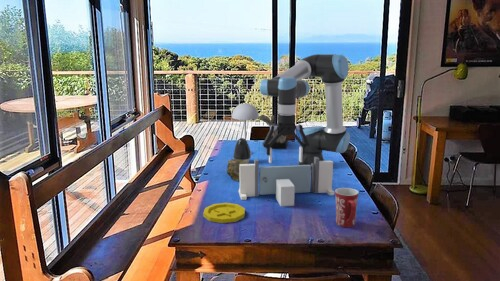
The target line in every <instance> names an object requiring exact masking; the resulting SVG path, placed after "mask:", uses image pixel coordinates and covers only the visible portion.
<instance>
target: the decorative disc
mask: <svg viewBox="0 0 500 281" xmlns="http://www.w3.org/2000/svg"><path fill="white" fill-rule="evenodd" d="M245 215H246V208H245V207H244V206H242V205H240V204H237V203H232V202H231V203H230V202H222V203H213V204H211V205H209V206H207V207H205V208H204V211H203V217H204V218H205V219H206V220H207V221H209V222H213V223H220V224H226V223H227V224H229V223H235V222H238V221H240V220H242V219H244V218H245Z"/></svg>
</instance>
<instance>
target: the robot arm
mask: <svg viewBox="0 0 500 281" xmlns="http://www.w3.org/2000/svg"><path fill="white" fill-rule="evenodd" d="M349 69H350V68H349V62H348V59H347V58H346V56H344V55H342V54H336V53H335V54H334V53H332V54H331V53H330V54H324V53H322V54H319V53H318V54H317V53H316V54H312V55H308V56H306V57H304V58H302V59H301V58H300V60H297V62H296V63H295V64H294V65H293V66H292V67H290V68H288V69H287V70H285V71H283V72H281V73H280V74H278V75H276V76H275V77H272V78H270V79H269V78H264V79H262V80H261V81H260V83H259V91H260V94H261V95H262V96H267V97H277V99H278V101H277V102H278V103H277V106H278V107H277V113H278V114H277V123H278V125H277V126H273V125H271V126H270V127H269V131H268V132H267V135H266V137H265V138H264V140H263V143H262V147H263V148H265V149H266V155H267V156H268V163H269V164H272V163H273V162H272V161H273V160H272V159H273V149H272V148H271V146H272V145H273V144H274V143H275V142H276V140H277V139H278V138H279V137H280V136H281V135H283V136H286V137H287V136H289V137H290V136H292V137H294V139H295V140H296V142H298V144H299V145H300V146H299V148H298V165H311V163H314V157H318V158H319V161H325V159H324V156H323V151H324V152H330V153H336V154H337V153H338V154H339V153H340V154H343V153H345V152H346V151H347V150H348V147H349V144H350V142H351V135H350V132H347V128H346V126H345V125H344V123H343V122H344V121H343V120H344V118H343V116H344V115H343V111H344V110H343V91H342V90H343V83H344V82H345V81H346V79H347V77H348V76H349V71H350V70H349ZM312 77H313V78H314V77H315V78H321V83H322V84H323V85H324V89H325V90H324V92H325V114H326V127H324V126H321V125H315V126H314V125H313V126H307V127H304V126H303V125H302V124H301V123H300V124H296V110H297V99H300V98H301V99H302V98H305V97H306V96H308V95H309V92H310V90H311V89H310V84H309V83H308V82H307V81H306V80H302V79H307V78H312ZM303 127H304V128H303ZM275 129H277V130H278V131H277V133H276V135H275V136H274V137H273V138H272V140H271V141H270V142H269V140H270V138H271V136H272V134H273V131H275ZM296 129H297V130H298V132H299V134H300V136H301V139H300V137H299V136H298V135H297V133H296V132H295V130H296ZM268 142H269V143H268Z"/></svg>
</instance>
